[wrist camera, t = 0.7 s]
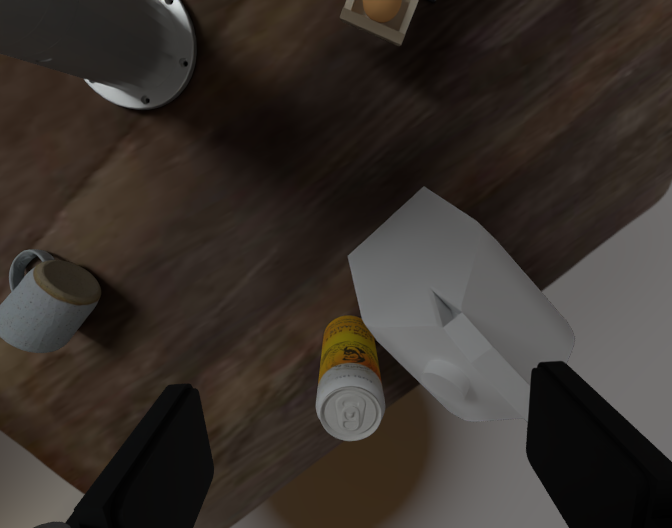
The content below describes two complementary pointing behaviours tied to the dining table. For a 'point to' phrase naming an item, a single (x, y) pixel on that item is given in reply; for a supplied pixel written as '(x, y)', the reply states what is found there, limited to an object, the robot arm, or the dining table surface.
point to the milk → (456, 309)
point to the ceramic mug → (46, 302)
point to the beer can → (349, 381)
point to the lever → (386, 31)
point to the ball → (381, 9)
